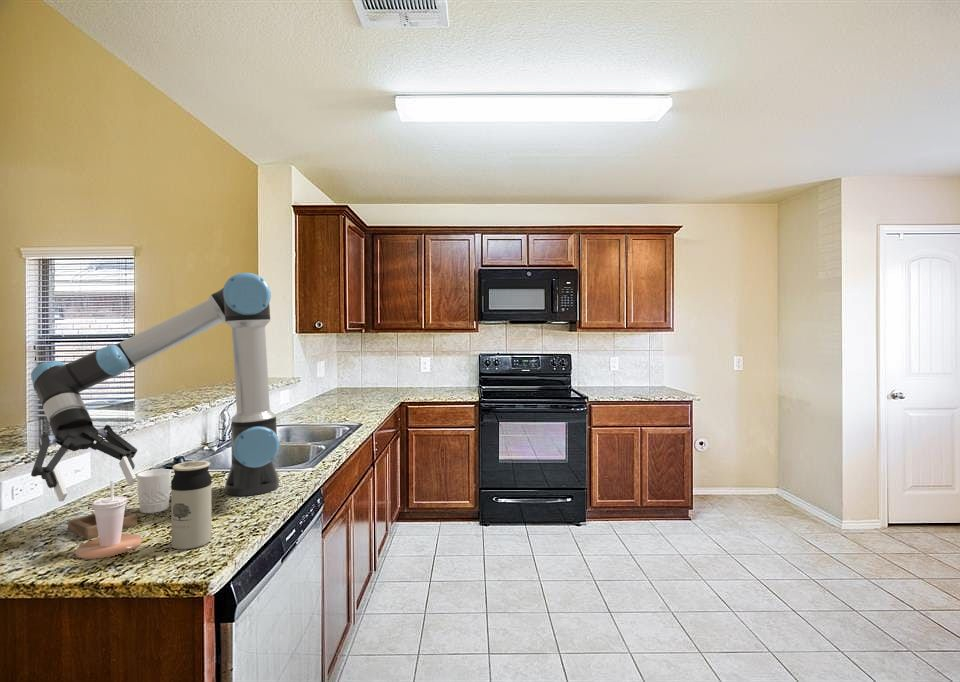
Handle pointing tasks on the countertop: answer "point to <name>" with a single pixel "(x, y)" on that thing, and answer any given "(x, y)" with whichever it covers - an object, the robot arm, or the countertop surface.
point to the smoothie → (109, 518)
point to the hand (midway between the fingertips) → (99, 489)
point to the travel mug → (190, 505)
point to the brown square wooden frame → (88, 525)
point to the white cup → (154, 490)
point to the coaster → (96, 551)
